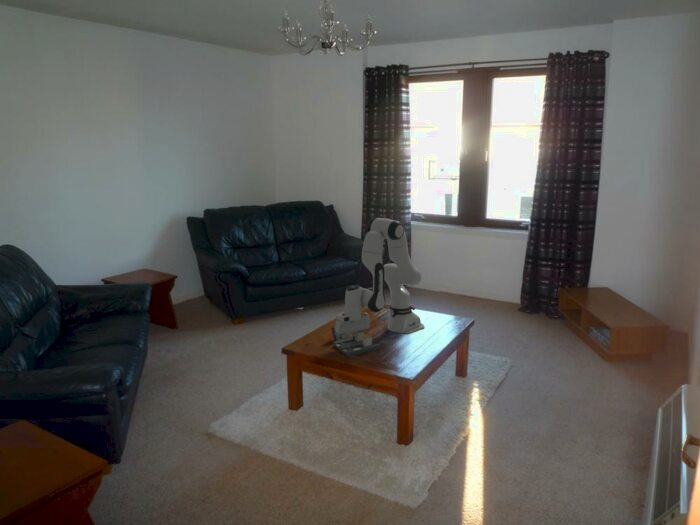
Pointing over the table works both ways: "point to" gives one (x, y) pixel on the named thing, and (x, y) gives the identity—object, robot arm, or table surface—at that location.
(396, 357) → the table surface
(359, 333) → the tab
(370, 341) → the tab
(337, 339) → the electrical switch
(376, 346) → the switch bank
